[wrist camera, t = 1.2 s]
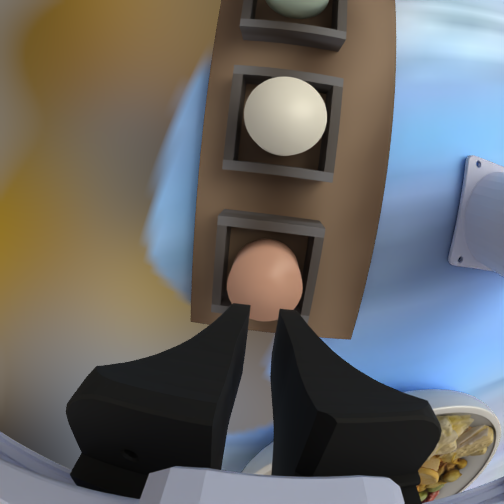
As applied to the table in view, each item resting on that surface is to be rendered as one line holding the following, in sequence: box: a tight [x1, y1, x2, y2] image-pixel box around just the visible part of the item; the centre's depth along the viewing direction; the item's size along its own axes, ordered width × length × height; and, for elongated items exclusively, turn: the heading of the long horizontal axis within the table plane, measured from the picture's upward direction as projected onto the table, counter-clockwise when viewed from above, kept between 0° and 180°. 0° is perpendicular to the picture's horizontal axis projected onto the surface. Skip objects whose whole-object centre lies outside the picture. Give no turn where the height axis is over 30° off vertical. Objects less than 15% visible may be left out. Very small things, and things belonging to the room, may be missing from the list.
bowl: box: [242, 389, 501, 503], centre depth 23 cm, size 30×30×8 cm
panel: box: [191, 0, 396, 339], centre depth 16 cm, size 11×26×3 cm, turn 174°
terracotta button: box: [227, 238, 303, 321], centre depth 16 cm, size 4×4×2 cm
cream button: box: [244, 77, 327, 156], centre depth 14 cm, size 4×4×2 cm
